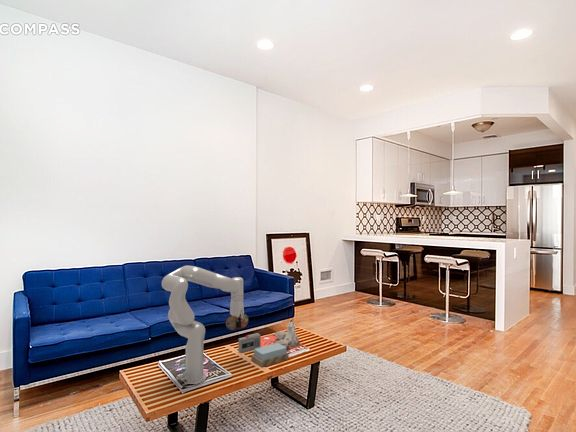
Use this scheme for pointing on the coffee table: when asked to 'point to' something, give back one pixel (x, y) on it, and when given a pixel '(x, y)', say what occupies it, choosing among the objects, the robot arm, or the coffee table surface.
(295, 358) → the coffee table surface
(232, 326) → the brown rounded slab
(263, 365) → the tower base
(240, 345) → the cassette player
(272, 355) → the blue-grey rectangular block
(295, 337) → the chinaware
